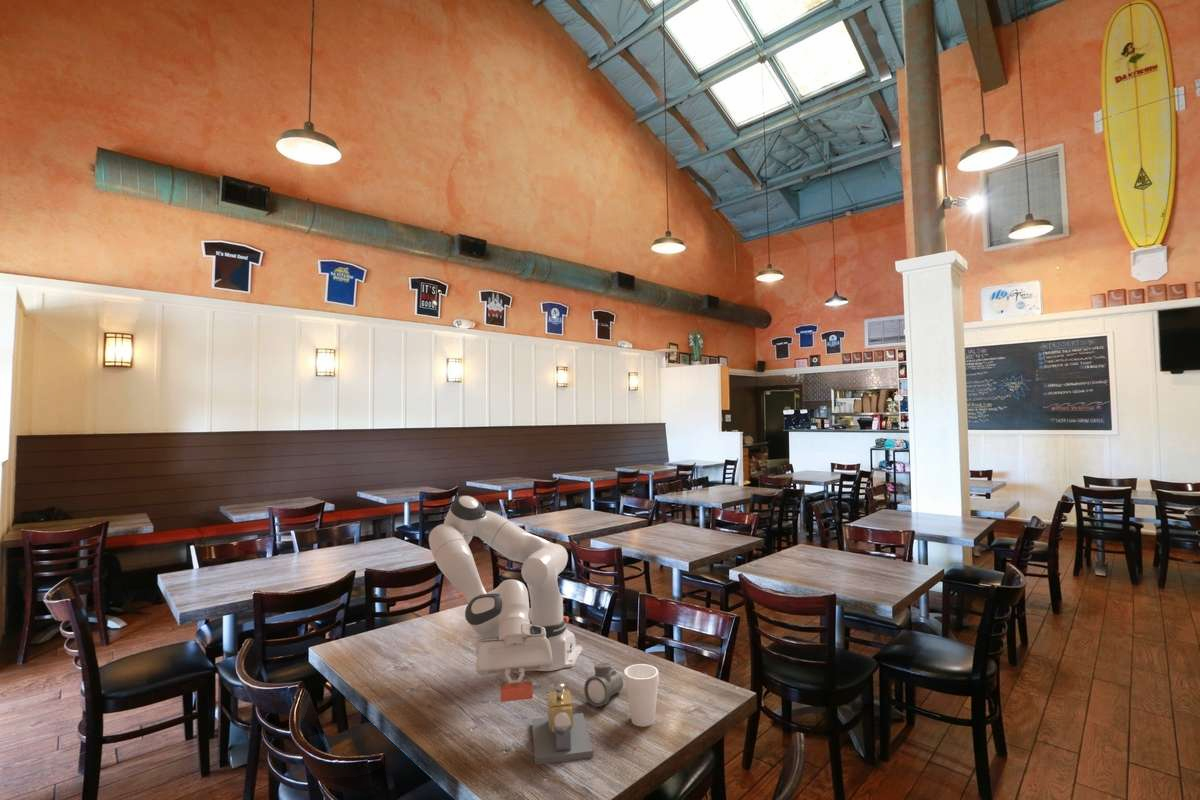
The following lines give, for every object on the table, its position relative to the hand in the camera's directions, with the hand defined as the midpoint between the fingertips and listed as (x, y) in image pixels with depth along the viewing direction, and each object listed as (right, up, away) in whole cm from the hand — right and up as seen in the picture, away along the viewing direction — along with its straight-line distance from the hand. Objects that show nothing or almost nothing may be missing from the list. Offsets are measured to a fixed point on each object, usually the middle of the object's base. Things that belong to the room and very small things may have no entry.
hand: (515, 688), depth 140 cm
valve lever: (+5, -1, -1) cm, 5 cm away
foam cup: (+34, -13, +7) cm, 37 cm away
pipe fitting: (+24, -14, +20) cm, 34 cm away
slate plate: (+12, -13, -1) cm, 18 cm away
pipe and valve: (+12, -11, -1) cm, 16 cm away
